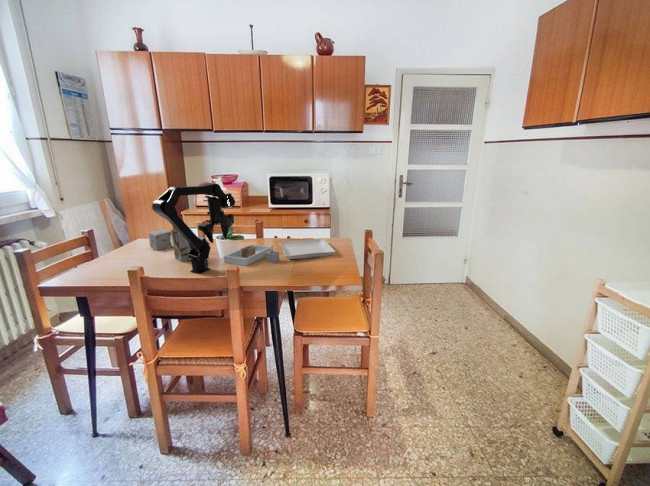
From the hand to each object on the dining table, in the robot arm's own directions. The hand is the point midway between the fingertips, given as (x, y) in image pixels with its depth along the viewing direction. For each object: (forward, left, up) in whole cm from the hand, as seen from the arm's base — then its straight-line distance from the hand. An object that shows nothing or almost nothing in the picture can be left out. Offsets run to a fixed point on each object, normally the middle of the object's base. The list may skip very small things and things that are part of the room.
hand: (218, 240), depth 149 cm
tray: (+12, -8, -12) cm, 19 cm away
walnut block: (+12, -8, -11) cm, 18 cm away
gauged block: (+12, -23, -12) cm, 29 cm away
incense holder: (+8, +54, -12) cm, 56 cm away
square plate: (+32, -32, -13) cm, 47 cm away
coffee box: (-2, +24, -12) cm, 27 cm away
